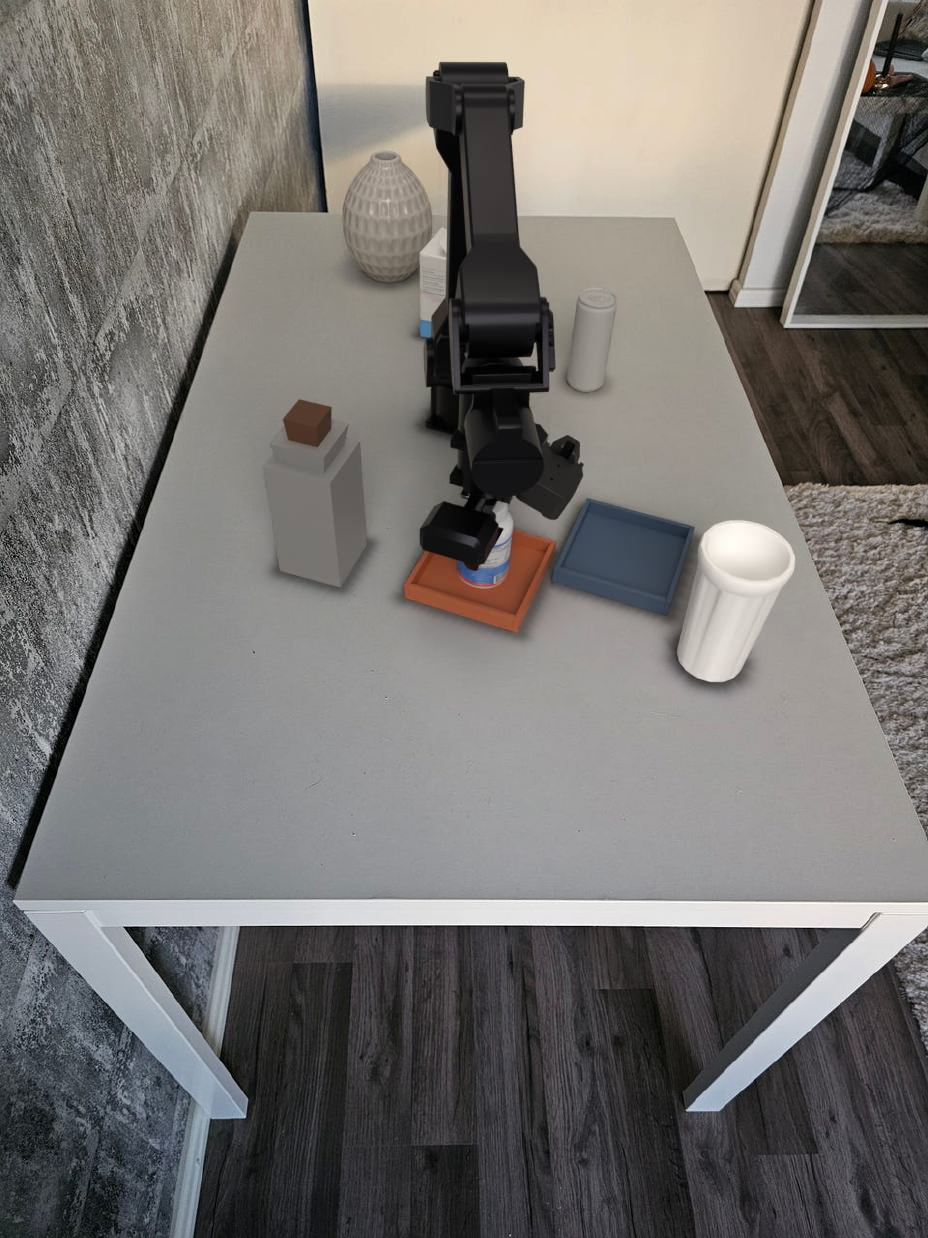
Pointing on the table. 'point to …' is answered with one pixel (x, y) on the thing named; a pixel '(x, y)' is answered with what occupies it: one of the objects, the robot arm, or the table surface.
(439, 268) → the ink box
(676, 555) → the slate tray
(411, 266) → the vase
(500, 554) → the pill bottle
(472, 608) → the terracotta tray
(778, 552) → the cup
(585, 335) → the beverage can
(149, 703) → the table surface
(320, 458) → the perfume bottle
